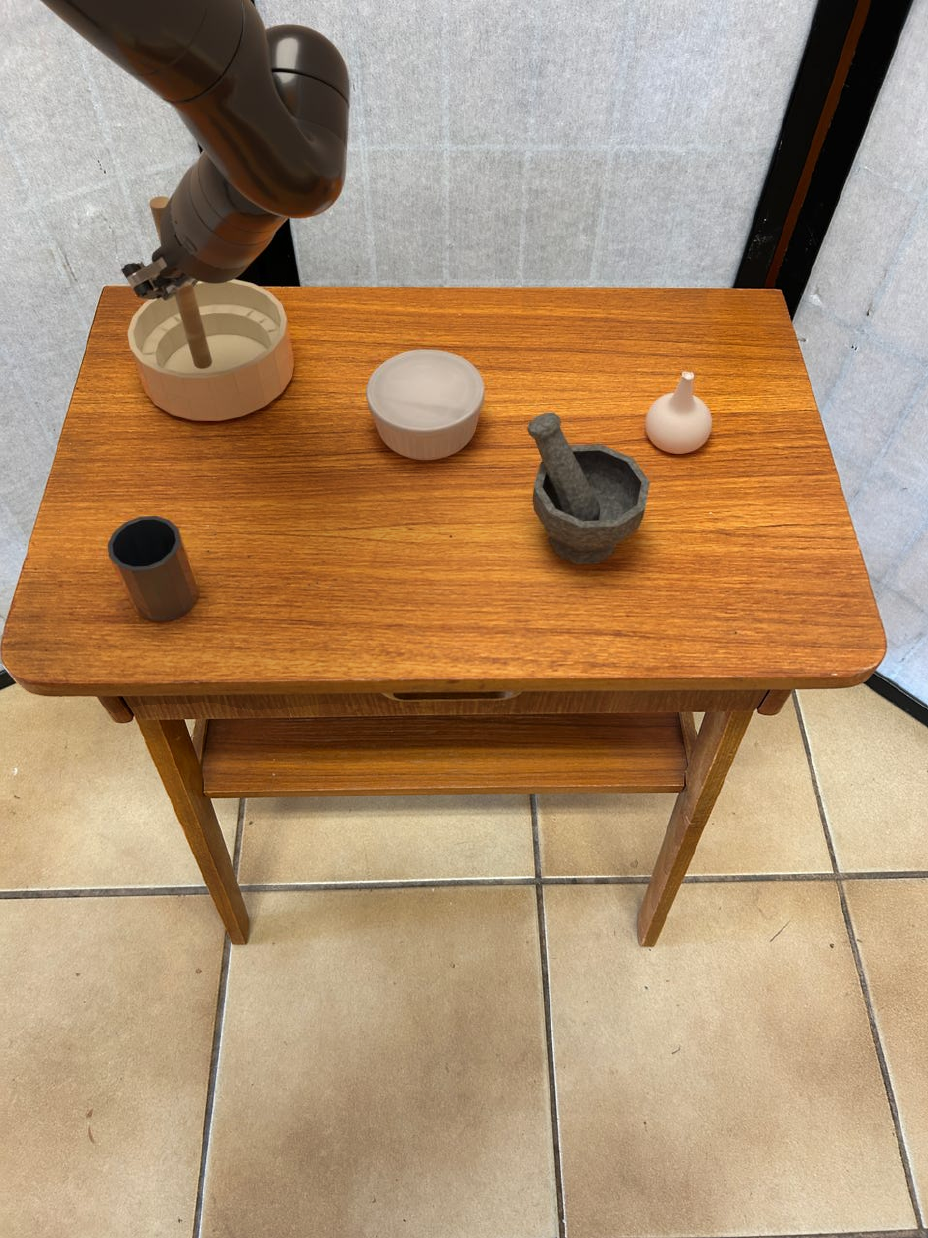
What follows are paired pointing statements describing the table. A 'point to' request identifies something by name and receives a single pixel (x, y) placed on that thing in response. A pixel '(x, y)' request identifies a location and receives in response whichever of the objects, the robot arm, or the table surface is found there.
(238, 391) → the bowl
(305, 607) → the table surface
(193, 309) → the stick
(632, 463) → the mortar and pestle
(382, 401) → the ramekin
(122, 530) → the utensil pot
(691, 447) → the garlic bulb
